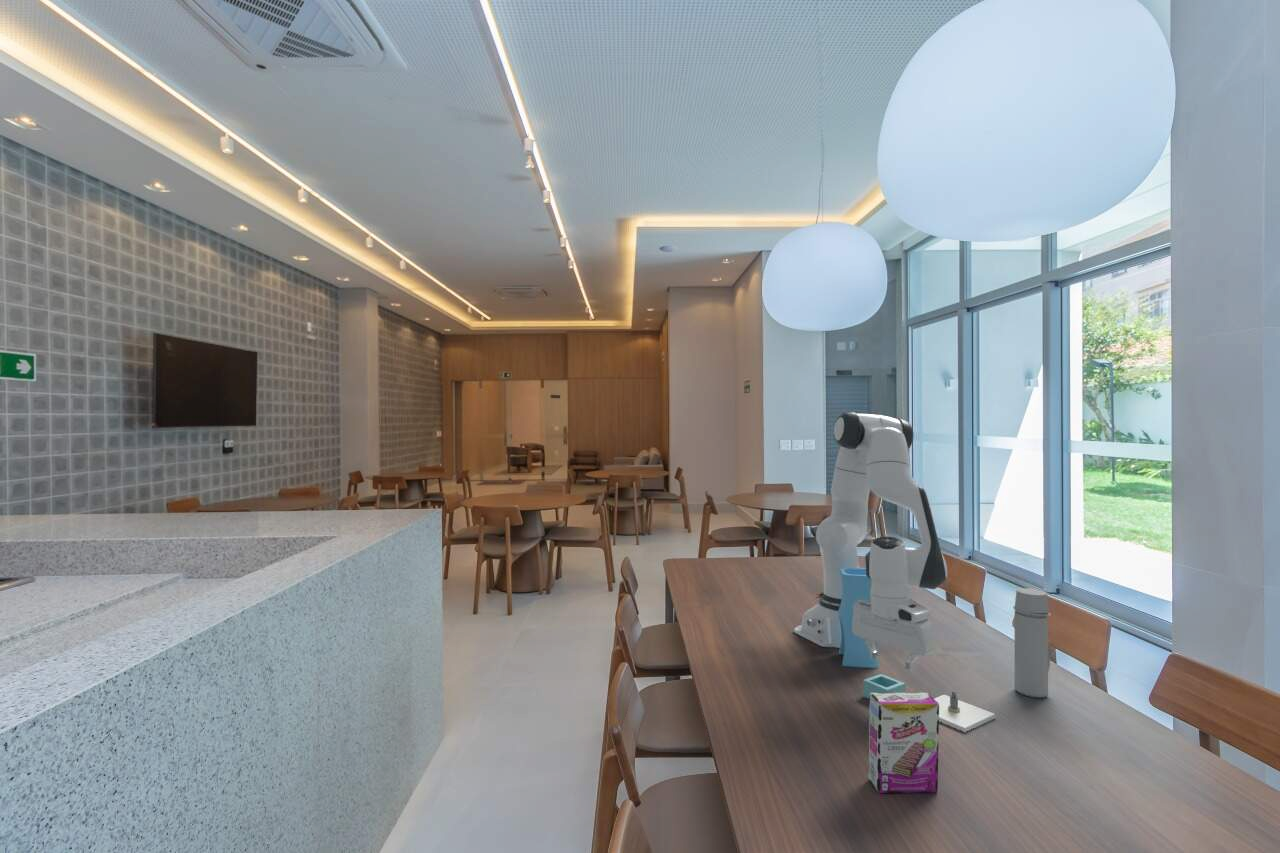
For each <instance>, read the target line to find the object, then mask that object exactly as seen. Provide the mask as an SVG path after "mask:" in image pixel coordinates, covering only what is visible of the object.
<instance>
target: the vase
mask: <svg viewBox="0 0 1280 853" xmlns="http://www.w3.org/2000/svg"><path fill="white" fill-rule="evenodd" d="M839 569H840V575H841V580H842V590H843V593H842V600H841V604H840V607H839V610H838V615H839V620H840V625H841V644H840V648H838V655H842V657H843V658H842V664H841V665H842V667H851V668H852V667H854V668H866V669H868V668H869V669H878V668H880V664H879V659H877V660H876V659H872V658H871V657H870V651H869V649H868V647H867V645H866V639H863V638H860V637H856V636H855V635H854V634H853V632H852V620H853V613H854V612H853V604H854V602H855V601H858V600H859V599H861V600H864V601H870V602H871V599H870V590H871V585H872V582H871V580H870V579H869V578H868V577H867V576H866V567H860V568H849V567H842V568H839ZM857 603H858V602H857ZM874 645H875V647H876V650H877V651H878V643H877V642H875V643H874Z"/></svg>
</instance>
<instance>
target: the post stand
mask: <svg viewBox="0 0 1280 853" xmlns="http://www.w3.org/2000/svg"><path fill="white" fill-rule="evenodd" d="M933 699H934V700H936V701H937V702H938V703H939V723H941V722H942V724H943V725H946V726H948V725H949V727H951V728H953V729H955V728H956V729H955V730H957V731H960V730H961V731H960V732H962V731H963V732H962V733H967V732H966V731H968V732H969V730H970V731H971V729H972V730H974V729H976V728H978V727H980V726H982V725H985V724H986V723H989V722H990V721H993V720H994V719H996V714H995V713H993V712H990V711H988V710H986V709H983V708H980V707H978V706H975V705H973V704H970V703H967V702H965V701H962V700H959V697H958V696H957V691H955V690H952V691H951V695H950V696H949V695H947V694H942V695H939V696H936V698H933ZM973 728H974V729H973Z"/></svg>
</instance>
